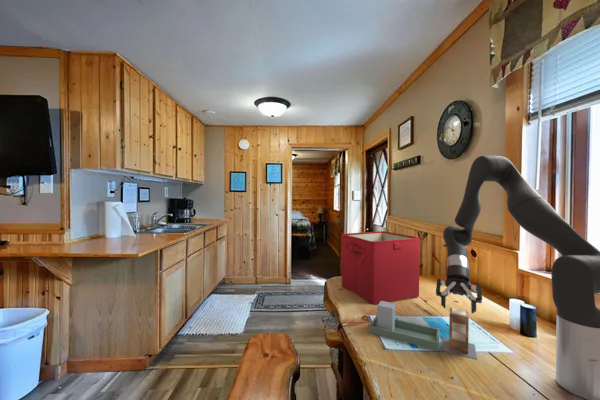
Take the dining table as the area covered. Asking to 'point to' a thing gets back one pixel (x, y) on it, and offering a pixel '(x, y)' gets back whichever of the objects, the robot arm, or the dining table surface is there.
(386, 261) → the storage cube
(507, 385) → the dining table surface
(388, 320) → the plain box
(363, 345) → the dining table surface
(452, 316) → the label box
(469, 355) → the slate pad
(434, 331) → the parts bin
